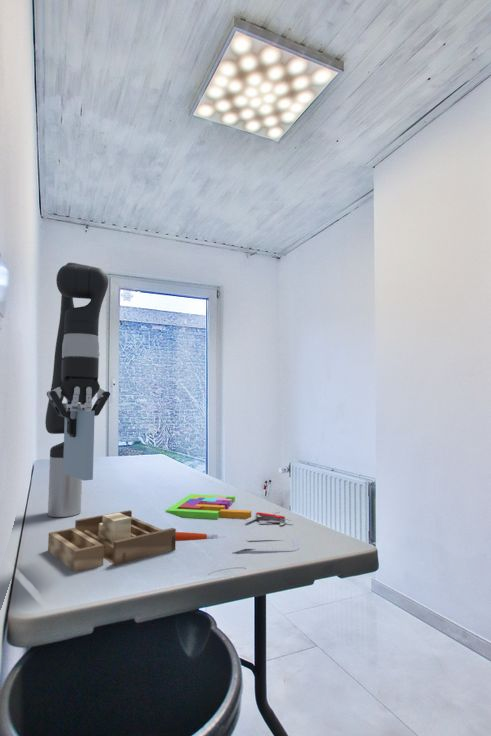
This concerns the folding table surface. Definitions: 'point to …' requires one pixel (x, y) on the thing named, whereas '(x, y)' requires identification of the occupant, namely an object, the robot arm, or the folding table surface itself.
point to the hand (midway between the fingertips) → (78, 436)
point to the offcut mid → (114, 533)
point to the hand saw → (203, 536)
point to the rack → (130, 539)
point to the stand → (76, 549)
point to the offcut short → (116, 521)
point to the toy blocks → (207, 507)
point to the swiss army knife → (269, 518)
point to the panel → (80, 447)
